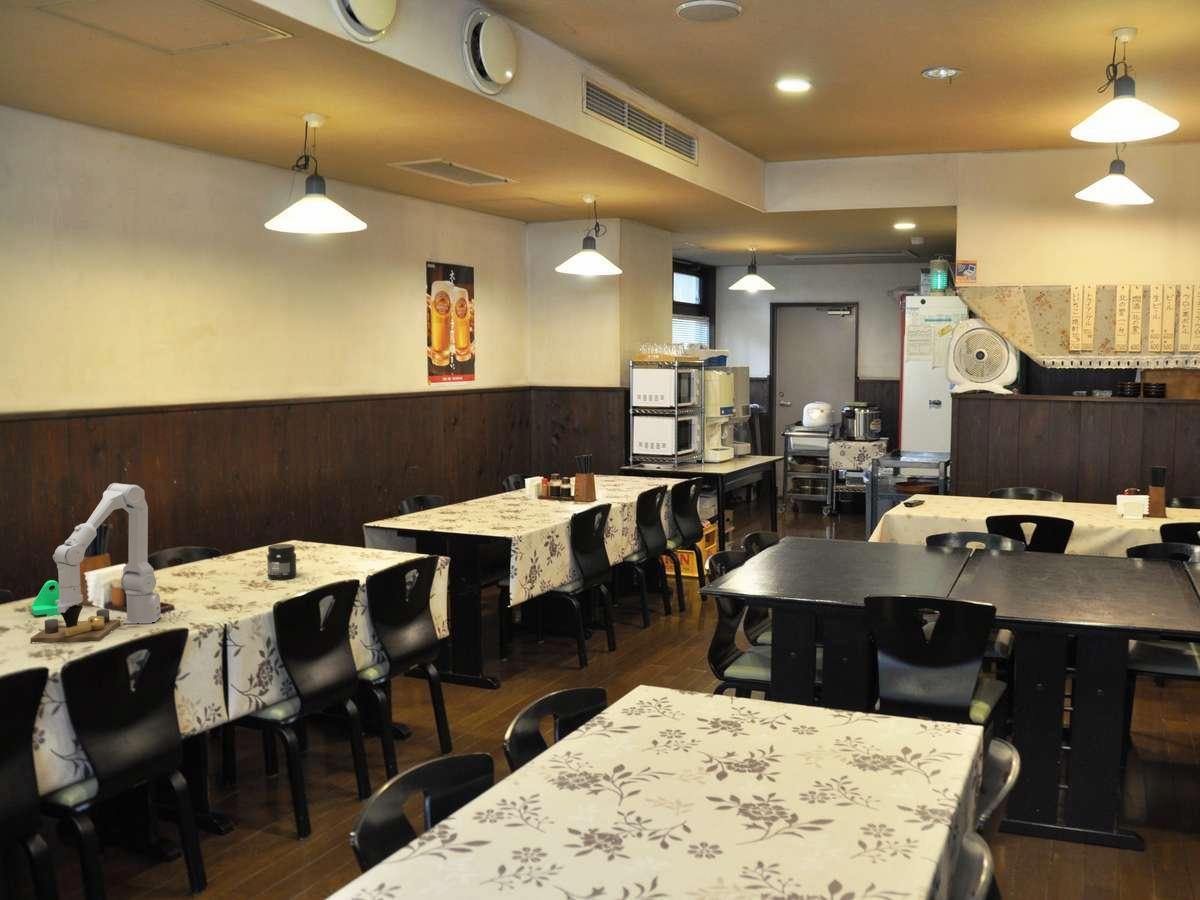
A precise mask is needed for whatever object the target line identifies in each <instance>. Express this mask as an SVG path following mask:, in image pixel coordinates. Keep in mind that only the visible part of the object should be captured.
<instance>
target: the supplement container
mask: <svg viewBox="0 0 1200 900" xmlns="http://www.w3.org/2000/svg"><path fill="white" fill-rule="evenodd" d="M295 551H296V546H295V545H294V544H291V543H279V544H278V543H277V544H272V545H269V546H267V552H268V554H267V555H266V559H267V562H266V563H267V564H266V565H267V578H268V579H269V580H271V581H287V580H291V579H294V578H296V577H297V574H298V573H297V554H296V552H295Z"/></svg>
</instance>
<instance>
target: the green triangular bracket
mask: <svg viewBox="0 0 1200 900" xmlns="http://www.w3.org/2000/svg"><path fill="white" fill-rule="evenodd" d="M52 586H54V588H53V589H50V587H52ZM56 600H60V599H59V582H58V581H56V580H52V579H50V580H47V581H46V582H45V583H44V585H43V586H42V588H41V589H40V591H39V593H38V594H37V596H36V597H35V599H34V601H33V602H32V604H31V605H30V606H31V612H32V614H33V615H34V616H39V615H46V617H47V616H48V617H55V616H54V615H57V616H62V615H61V613H58V606H59V603H55V601H56Z"/></svg>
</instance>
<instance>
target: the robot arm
mask: <svg viewBox="0 0 1200 900" xmlns="http://www.w3.org/2000/svg"><path fill="white" fill-rule="evenodd" d="M118 509H123V510H125V511H126V512H127V513H128V561H127V563H126V565H125V566H124V567H123V568H122V570H123V571H122V575H121V578H120V586H121V588H122V589H123V590H124V593H125V595H126V614H127V615H126V619H125V620H124V621H123V622H122V624H124V625H126V624H127V625H128V624H129V625H133V624H135V625H137V623H139V624H153V623H152V622H155V623H156V622H158V621H159V620H160V619H161V618H162V615H161V596H160V594H159V593H158V592H153V591H154V590H155V588H156V586H157V578H156V576H155V572H154V571H155V569H154V568H153V566H152V565H151V564H150V563H149V562H148V557H149V556H148V554H149V553H148V548H149V547H148V544H149V543H148V542H149V541H148V540H149V539H148V538H149V536H148V535H149V534H148V533H149V531H148V530H149V525H148V524H149V507H148V503H147V500H146V497H145V490H144V489H143V488H141V486H139V485H137V484H127V483H124V484H123V483H118V482H113V483H111V484H109V486H108V487H107V488H106V490H104V492H102V498H101V500H100V502H99V504H97V506H96V508H95V509H94V510H93V512H92V514H90V517H88V520H87V521H86V522H85V523H80V524H78V525H76V526H75V527H74V531H73V532H72V533H71V535H70V536H69V537H68V538H67V539H66V540H65V541H64V544H61V545H58V547H57V548H56V549H55V551H54V554H53V555H52V559H53V561H54V562H55V564H56V569H57V571H58V572H57V573H58V584H59V599H60V600H56V601H55V603H59V606H58V613H61V615H60V616H62V619H63V620H64V621H65V624H66V627H69V626H73V625H77V622H78V621H79V617H80V614H81V611H82V609H83V608H84V607H83V605H82V604H81V603H82V602H83V601H84V595H83V594H82V588H81V587H82V586H81V565H80V564H81V562H83V561H84V558H85V553H86V551H87V549H88V547H89V546H90V545H91V543H92V542H93V541H94V539H96V537H97V534H98V533H97V529H98V528H100V526H101V525H102V524H103V522H105V520H106V519H107V518H108V517H109V516H110V515H111V514H112V512H113V511H114V510H115V511H116V510H118ZM80 604H81V605H80ZM160 617H161V618H160ZM159 618H160V619H159Z"/></svg>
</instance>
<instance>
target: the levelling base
mask: <svg viewBox="0 0 1200 900" xmlns="http://www.w3.org/2000/svg"><path fill="white" fill-rule="evenodd" d="M95 612H96V616H103V617H104V627H105V628H104V629H100V630H89V631H86V632H82V633H78V634H75V635H71V636H65V628H66V624H65V621H64V619H57V618H50V619H46V620H44V629H42V630H41V631H39V632H38V633H36V634H35V635H33V636H31V637H30V643H31V642H63V643H86V642H85V641H99V642H101V641H100V640H103V639H105V638H106V637H107V636H109V635H110V634H111V633H112V632H114V631H115V630H116V629H117V628H118V627H120V626H121V620H119V619H116V620H110V618H111V617H110V609H108V608H106V609H105V608H104V609H97V610H96V611H95ZM85 622H88V620H78V622H77V624H81V623H85ZM119 625H120V626H119ZM115 628H116V629H115ZM114 629H115V630H114ZM111 631H112V632H111ZM110 632H111V633H110ZM105 636H106V637H105Z"/></svg>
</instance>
